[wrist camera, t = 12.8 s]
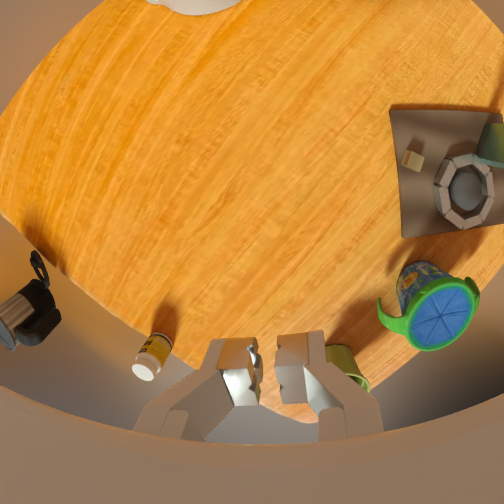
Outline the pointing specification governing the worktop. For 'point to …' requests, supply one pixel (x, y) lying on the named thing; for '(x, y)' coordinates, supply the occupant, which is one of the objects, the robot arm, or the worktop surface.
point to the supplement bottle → (152, 356)
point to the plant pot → (346, 364)
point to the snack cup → (431, 306)
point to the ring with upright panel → (487, 153)
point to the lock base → (429, 163)
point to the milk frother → (29, 311)
